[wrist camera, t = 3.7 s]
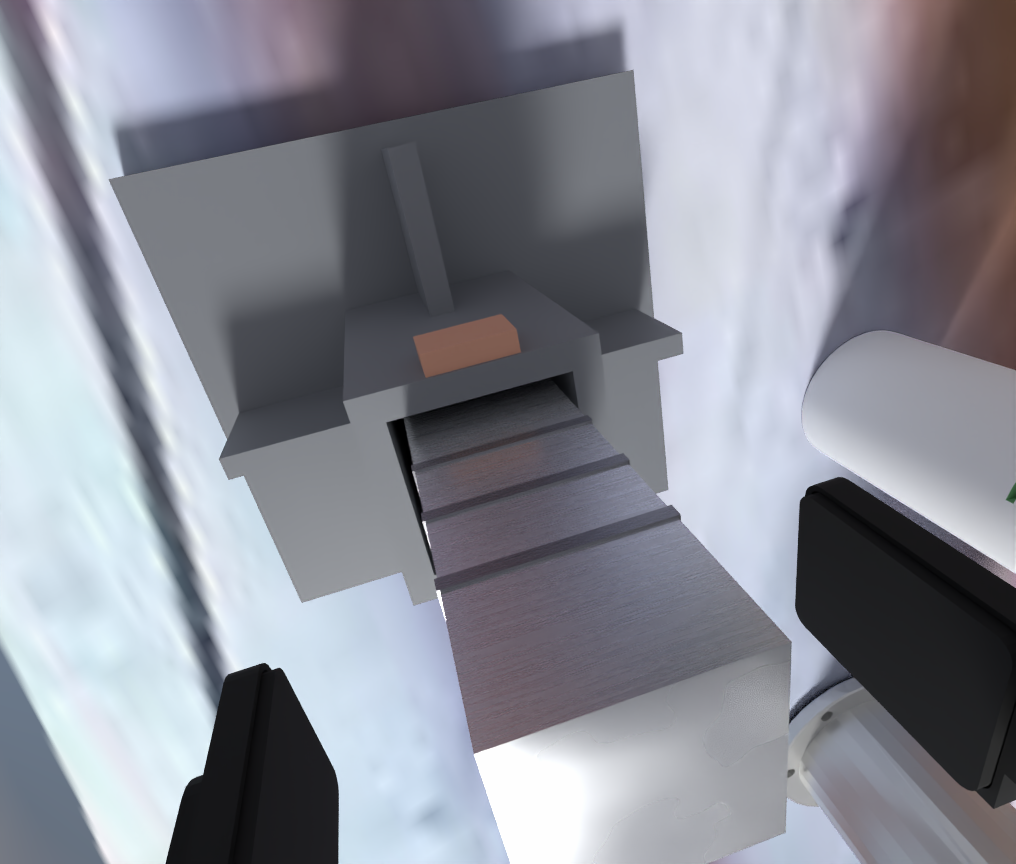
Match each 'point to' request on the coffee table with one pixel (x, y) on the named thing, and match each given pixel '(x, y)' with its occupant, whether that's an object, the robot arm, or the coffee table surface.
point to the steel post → (596, 644)
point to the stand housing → (407, 303)
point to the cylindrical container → (923, 432)
